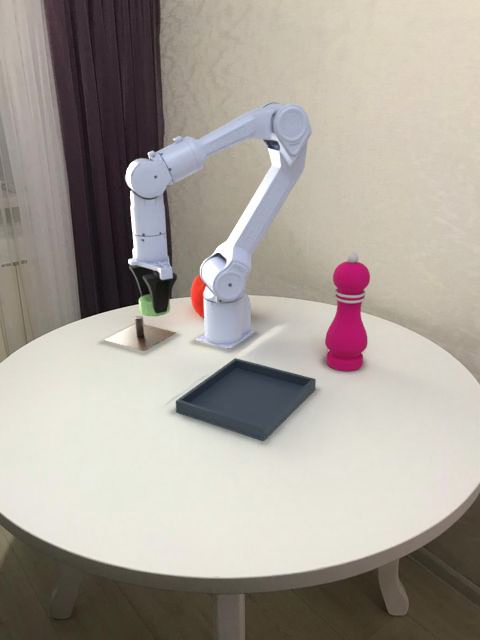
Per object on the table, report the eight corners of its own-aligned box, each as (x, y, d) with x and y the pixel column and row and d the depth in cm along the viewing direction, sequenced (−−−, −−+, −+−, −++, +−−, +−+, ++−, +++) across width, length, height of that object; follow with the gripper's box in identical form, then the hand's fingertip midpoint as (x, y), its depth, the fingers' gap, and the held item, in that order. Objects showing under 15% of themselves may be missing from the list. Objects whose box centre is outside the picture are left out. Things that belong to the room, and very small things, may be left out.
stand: (137, 325, 121) (135, 304, 119) (176, 335, 116) (175, 314, 114) (103, 342, 113) (101, 321, 111) (144, 354, 108) (142, 331, 106)
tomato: (181, 315, 126) (179, 276, 122) (219, 302, 132) (219, 265, 129) (213, 329, 118) (212, 288, 115) (252, 315, 125) (252, 276, 121)
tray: (235, 368, 103) (235, 357, 102) (315, 389, 95) (315, 378, 94) (176, 412, 89) (175, 400, 88) (263, 441, 82) (264, 429, 81)
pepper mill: (363, 355, 107) (373, 247, 98) (367, 373, 100) (378, 259, 92) (322, 354, 107) (329, 246, 99) (324, 372, 101) (332, 258, 92)
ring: (153, 303, 110) (152, 291, 109) (175, 309, 108) (175, 296, 107) (133, 312, 106) (132, 300, 105) (157, 318, 104) (156, 305, 103)
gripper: (114, 226, 105) (121, 298, 111) (141, 245, 93) (147, 324, 99) (151, 222, 108) (156, 292, 114) (182, 239, 96) (186, 316, 102)
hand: (154, 306), depth 107 cm, fingers closed on ring, 5 cm apart
